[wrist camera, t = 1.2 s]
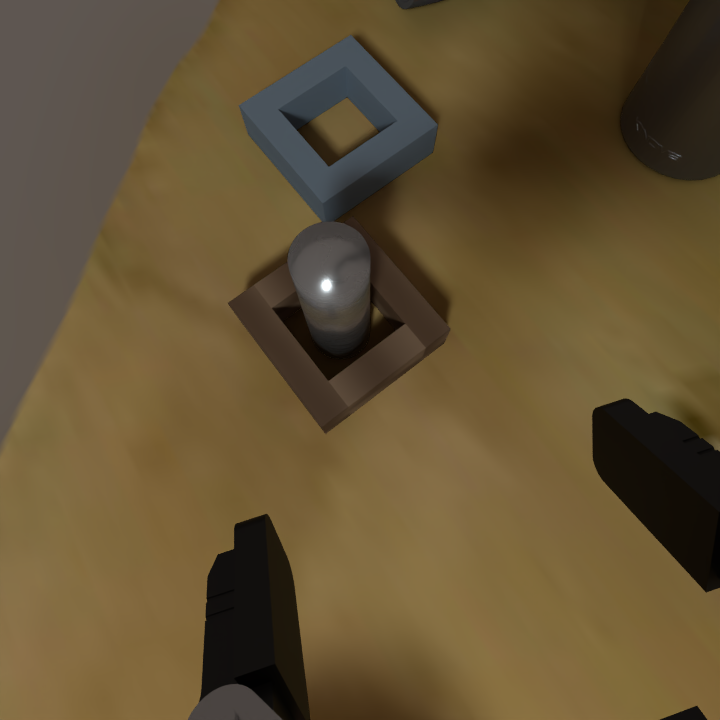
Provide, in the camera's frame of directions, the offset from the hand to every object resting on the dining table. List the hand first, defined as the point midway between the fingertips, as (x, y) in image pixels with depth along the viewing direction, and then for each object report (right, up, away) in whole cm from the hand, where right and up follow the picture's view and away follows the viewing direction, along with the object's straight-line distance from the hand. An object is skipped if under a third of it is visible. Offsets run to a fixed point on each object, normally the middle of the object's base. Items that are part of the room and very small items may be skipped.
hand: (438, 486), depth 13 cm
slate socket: (-3, +19, +28) cm, 34 cm away
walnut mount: (-3, +5, +24) cm, 24 cm away
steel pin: (-3, +5, +24) cm, 24 cm away
